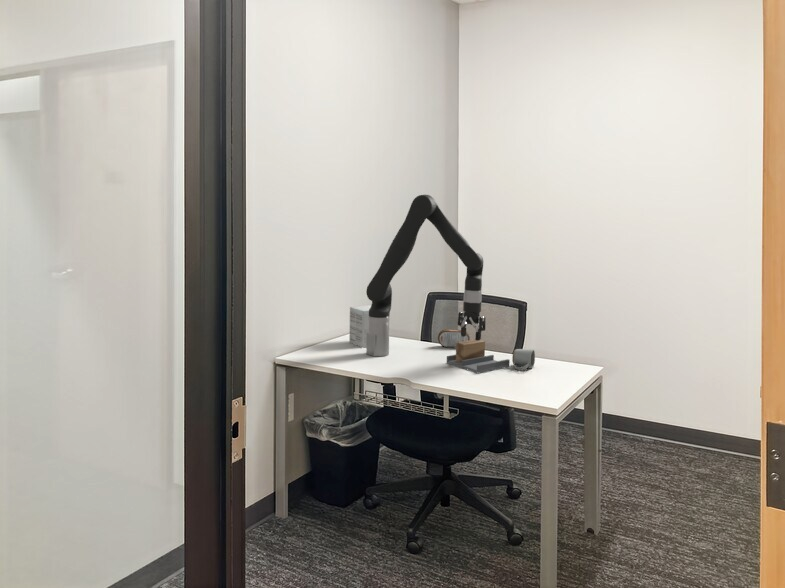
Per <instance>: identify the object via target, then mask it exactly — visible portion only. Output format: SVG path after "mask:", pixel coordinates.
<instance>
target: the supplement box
mask: <svg viewBox="0 0 785 588" xmlns="http://www.w3.org/2000/svg"><path fill="white" fill-rule="evenodd" d="M371 305H372V304H370V305H369V304H368V305H360V306H359V305H358V306H349V337H348V338H349V343H351V344H352V343H353V344H352V345H355V346H357V345H358V346H357V347H359V348H360V347H361V348H362V347H364V348H366V339H367V333H368V329H369V309H370V308H371Z"/></svg>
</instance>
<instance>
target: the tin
mask: <svg viewBox="0 0 785 588" xmlns="http://www.w3.org/2000/svg"><path fill="white" fill-rule="evenodd" d="M469 340H471V337H470V334H469V333H468V332H467V331H466V336H465V337H462V336H461V329H450V328H449V329H447V328H446V329H445V328H444V329H442V330H441V331H439V332H438V335H437V341H438V343H439V345H440V346H441V347H443V346H444V348H453V347H456V342H462V341H469ZM446 346H447V347H446Z"/></svg>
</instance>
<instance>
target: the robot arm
mask: <svg viewBox="0 0 785 588" xmlns="http://www.w3.org/2000/svg"><path fill="white" fill-rule="evenodd" d="M426 219H427V220H428V221H429V222H430V223H431V224H432V225H433V226H434V227H435V229H437V231H438V232H439V235H440V236H441V237H442V239H443V241H444V242H445V243H446V244H447V246H448V247H449V248H450V249H451V250H452V251H453V252H454V253H455V254H456V255H457V256H458V258H459V259H460V260H461V262H462V264H463V265H464V266H465V267H466V275H465V279H464V291H463V302H462V311H458V314H457V326H458V327H460V330H461V336H462V337H465V336H466V332H467V326H468V325H471V326H473V328H475V336H474V337H475V338H474V340H477V341H478V340H481V339H482V332H484V331H486V316H481V315H480V314H481V312H482V300H483V295H482V287H483V284H482V283H483V281H482V276H483V271H484V270H483V269H484V257H483V255H481V254H480V253H478V252H476V250H475V249H473V247H471V246H470V243H469V241H468V240H467V239H466V238H465V237H464V236H463V235H462V234H461V232H460V231H459V230H458V229H457V228H456V227H455V226H454V224H452V222H451V221H450V220H449V219H448V218H447V216H446V215H445V214H444V212H443V211H442V210H441V208H440V207H439V205H438V203H437V201H436V200H435V199H434V197H432V196H431V195H430V194H420V195H418V196H416V197H415V198H413V200H412V202H411V203H410V206H409V209H408V212H407V214H406V216H405V219H404V222H403V223H402V225H401V226H400V228H399V229H398V231H397V232H396V235H395V236H394V237H393V240H392V242H391V244H390V245H389V247H388V249H387V251H386V254H385V255H384V257H383V260H382V261H381V263H380V266H379V268H378V269H377V271H376V273H375V274H374V275H373V277H372V279H371V280H370V281H369V283H368V285H367V286H366V287H367V288H366V293H365V294H366V296H367V299H368V300H369V301H371V304H370V305H371V308H370V309H369V329H368V333H367V339H366V347H365V348H366V350H365V353H366V355H368V356H372V357H386V356H389V354H390V312H391V309H392V300H393V299H392V298H393V290H392V286H391V285H392V284H391V281H392V280H393V278H394V277H395V275H396V274H397V273H398V272H399V271H400V269H401V268H402V267H403V266H404V264H405V263H406V262H407V261H408V259H409V258H410V255H411V254H412V251H413V250H414V246H415V244H416V241H417V237H418V233H419V231H420V229H421V227H422V226H423V224H424V223H425V221H426Z"/></svg>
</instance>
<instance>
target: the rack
mask: <svg viewBox="0 0 785 588" xmlns="http://www.w3.org/2000/svg"><path fill="white" fill-rule="evenodd" d="M494 356H495V355H493V354H490V355H485V356H483V357H478V358H472V359H467V360H462V361H461V362H458V361H456V354H451V355H447V356H446V364H449V365H451V366H454V365H455V367H458V368H461V369H465V370H467V369H468V370H467V371H470V370H471V371H470V372H473V371H474V373H476V374H481V373H486V372H490V371H496V370H500V368H501V369H505V368H509V367H510V359H508V358H507V359H502V360H496V359H494V358H495V357H494ZM504 367H505V368H504ZM495 369H496V370H495Z"/></svg>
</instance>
